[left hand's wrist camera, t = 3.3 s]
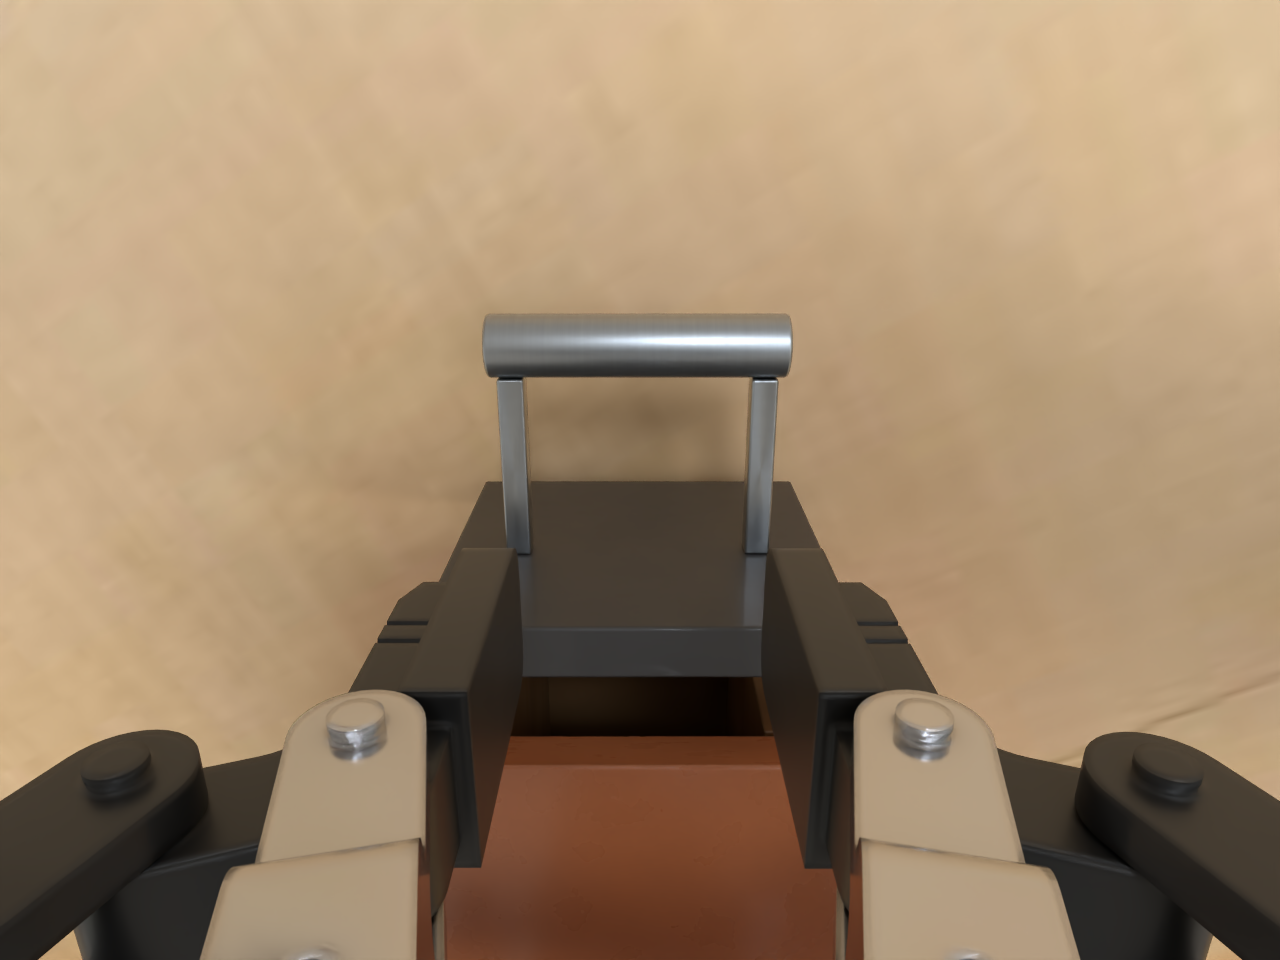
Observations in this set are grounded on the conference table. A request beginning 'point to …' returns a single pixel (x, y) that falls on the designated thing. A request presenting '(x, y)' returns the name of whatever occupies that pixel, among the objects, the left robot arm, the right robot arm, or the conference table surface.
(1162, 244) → the conference table surface
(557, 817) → the cabinet
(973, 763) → the left robot arm
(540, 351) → the drawer
